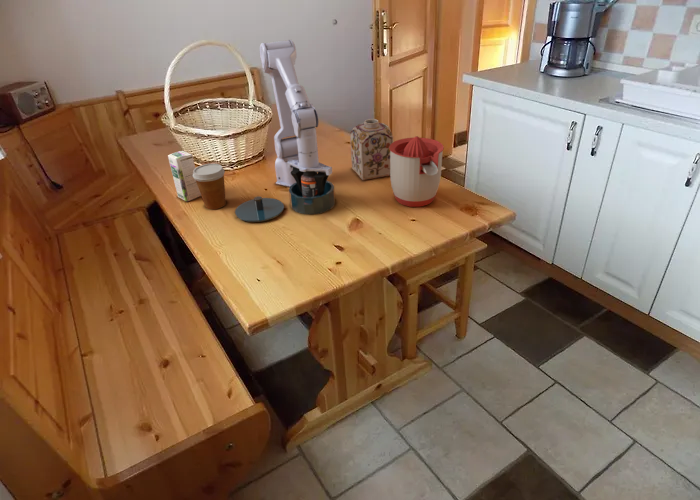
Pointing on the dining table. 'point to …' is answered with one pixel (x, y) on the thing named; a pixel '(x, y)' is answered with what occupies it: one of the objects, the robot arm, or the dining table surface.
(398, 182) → the citrus juicer
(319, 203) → the pot
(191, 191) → the syrup box
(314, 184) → the supplement bottle
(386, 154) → the decorative jar
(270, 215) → the pot lid
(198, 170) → the disposable coffee cup
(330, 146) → the dining table surface
